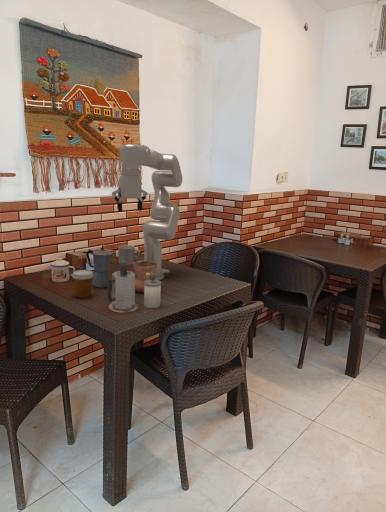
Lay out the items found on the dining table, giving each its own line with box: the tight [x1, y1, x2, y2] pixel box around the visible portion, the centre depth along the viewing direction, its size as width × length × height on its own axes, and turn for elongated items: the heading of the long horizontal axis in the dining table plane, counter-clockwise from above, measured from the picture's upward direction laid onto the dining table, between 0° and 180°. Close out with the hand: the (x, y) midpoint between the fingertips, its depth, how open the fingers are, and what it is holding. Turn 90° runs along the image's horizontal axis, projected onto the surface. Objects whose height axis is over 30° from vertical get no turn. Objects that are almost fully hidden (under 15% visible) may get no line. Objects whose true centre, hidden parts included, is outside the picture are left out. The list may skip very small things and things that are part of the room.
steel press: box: [106, 270, 136, 311], centre depth 171 cm, size 12×10×15 cm
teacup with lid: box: [50, 257, 76, 283], centre depth 206 cm, size 12×9×12 cm
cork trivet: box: [108, 302, 139, 313], centre depth 173 cm, size 13×13×1 cm
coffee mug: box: [117, 244, 141, 266], centre depth 244 cm, size 13×10×10 cm
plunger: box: [119, 261, 128, 275], centre depth 170 cm, size 3×3×18 cm
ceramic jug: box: [133, 259, 158, 294], centre depth 195 cm, size 18×14×14 cm
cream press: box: [143, 273, 162, 309], centre depth 175 cm, size 8×8×16 cm
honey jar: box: [71, 269, 94, 299], centre depth 183 cm, size 10×10×12 cm
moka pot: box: [85, 246, 115, 288], centre depth 199 cm, size 10×15×20 cm, turn 78°
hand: (129, 210), depth 182 cm, fingers open, 9 cm apart
